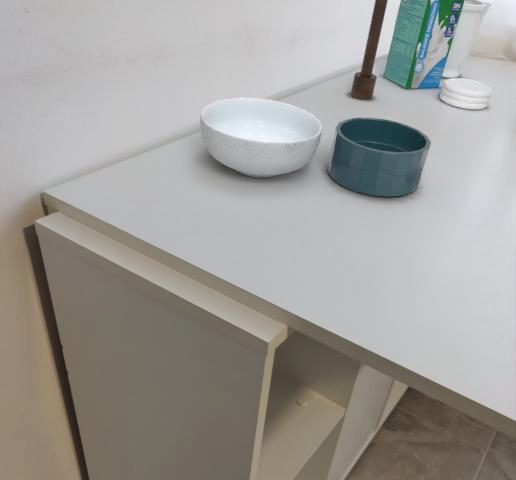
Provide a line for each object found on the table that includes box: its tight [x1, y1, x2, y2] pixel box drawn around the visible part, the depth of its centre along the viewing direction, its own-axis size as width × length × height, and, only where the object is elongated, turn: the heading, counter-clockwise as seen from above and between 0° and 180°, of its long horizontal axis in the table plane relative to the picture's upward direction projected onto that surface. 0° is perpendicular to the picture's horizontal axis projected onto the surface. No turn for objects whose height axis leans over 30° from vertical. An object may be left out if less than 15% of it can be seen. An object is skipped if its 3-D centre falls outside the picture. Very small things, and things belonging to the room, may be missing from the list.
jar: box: [442, 0, 487, 79], centre depth 124 cm, size 11×10×15 cm
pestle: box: [350, 0, 389, 101], centre depth 102 cm, size 4×4×20 cm
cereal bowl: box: [199, 97, 323, 179], centre depth 76 cm, size 17×17×7 cm
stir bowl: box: [328, 117, 432, 197], centre depth 77 cm, size 13×13×6 cm
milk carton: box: [383, 0, 465, 90], centre depth 112 cm, size 9×9×25 cm
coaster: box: [439, 77, 493, 110], centre depth 111 cm, size 10×10×4 cm
